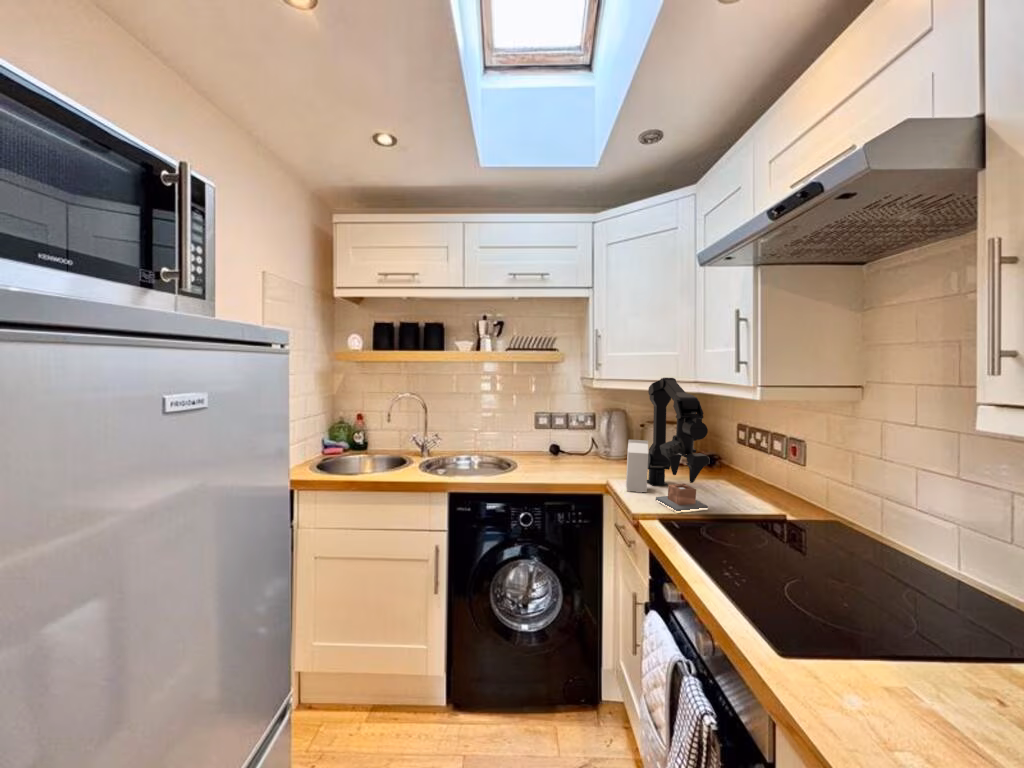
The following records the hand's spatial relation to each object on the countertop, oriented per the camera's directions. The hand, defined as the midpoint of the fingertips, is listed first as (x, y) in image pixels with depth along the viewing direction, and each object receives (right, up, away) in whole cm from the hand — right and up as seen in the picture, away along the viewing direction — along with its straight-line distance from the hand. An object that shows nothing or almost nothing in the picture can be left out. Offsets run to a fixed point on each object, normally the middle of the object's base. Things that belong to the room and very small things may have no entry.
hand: (682, 478), depth 156 cm
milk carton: (-11, -8, +18) cm, 22 cm away
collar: (0, -8, +1) cm, 8 cm away
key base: (0, -9, +1) cm, 10 cm away
